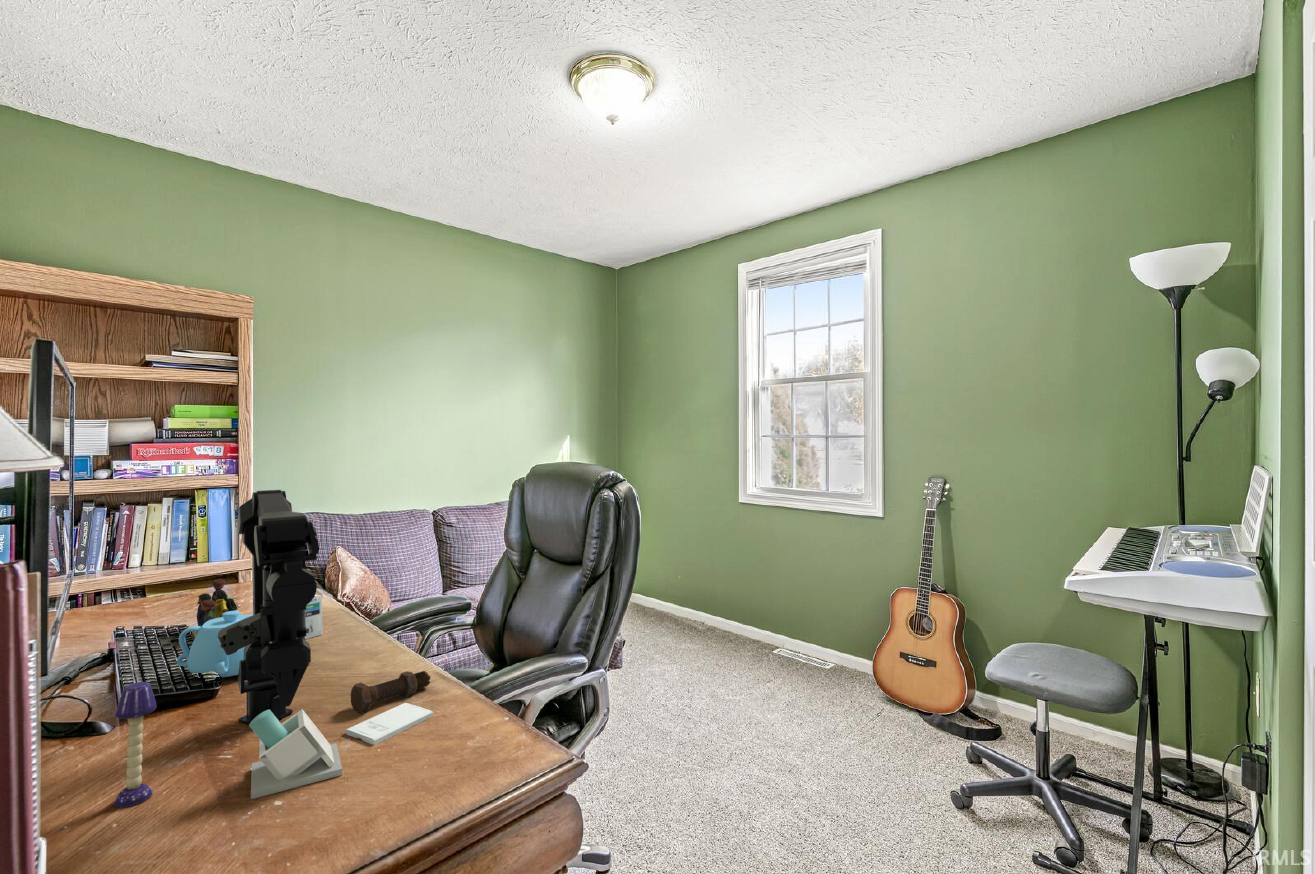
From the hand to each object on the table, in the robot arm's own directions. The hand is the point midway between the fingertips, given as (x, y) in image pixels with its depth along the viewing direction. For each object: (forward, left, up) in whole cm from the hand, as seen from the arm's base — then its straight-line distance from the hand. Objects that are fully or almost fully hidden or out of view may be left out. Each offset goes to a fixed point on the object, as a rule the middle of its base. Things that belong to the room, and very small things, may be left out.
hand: (285, 695), depth 97 cm
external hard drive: (+2, +19, -13) cm, 23 cm away
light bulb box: (-60, +50, -13) cm, 79 cm away
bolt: (-6, +28, -13) cm, 31 cm away
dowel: (0, +1, -11) cm, 11 cm away
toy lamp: (-15, -12, -13) cm, 23 cm away
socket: (+1, +2, -13) cm, 13 cm away
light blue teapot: (-51, +26, -13) cm, 59 cm away
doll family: (-83, +42, -13) cm, 94 cm away
